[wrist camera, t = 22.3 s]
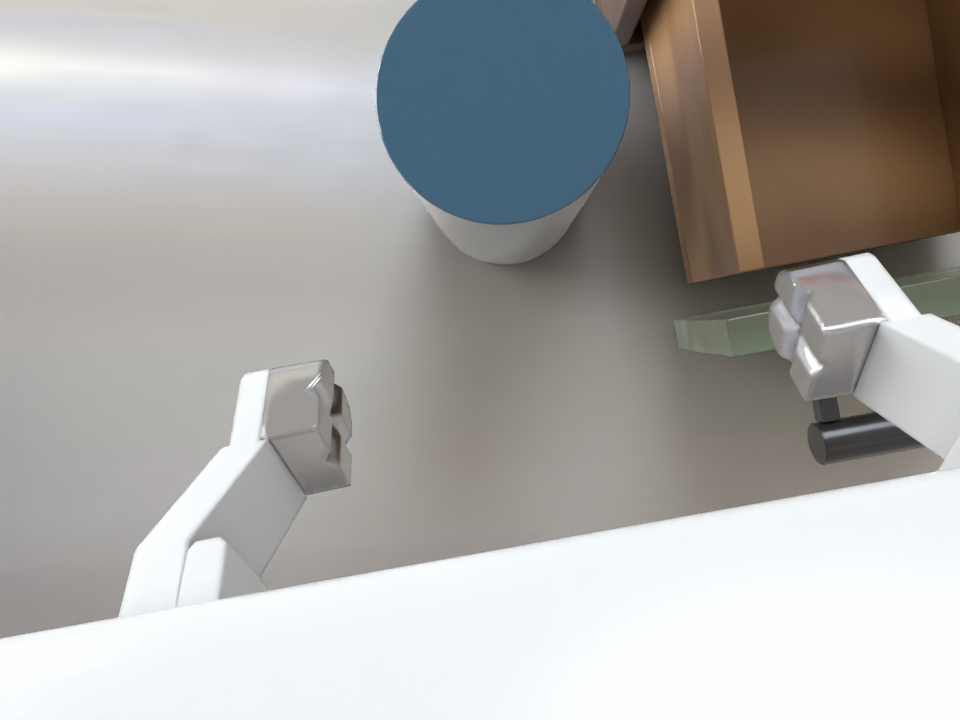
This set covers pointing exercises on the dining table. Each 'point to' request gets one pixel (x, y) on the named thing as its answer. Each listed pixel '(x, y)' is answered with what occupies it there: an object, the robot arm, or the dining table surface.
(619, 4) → the cabinet
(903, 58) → the drawer
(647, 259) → the dining table surface
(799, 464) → the dining table surface
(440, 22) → the blue cylinder
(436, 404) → the dining table surface
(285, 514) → the robot arm
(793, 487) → the dining table surface
